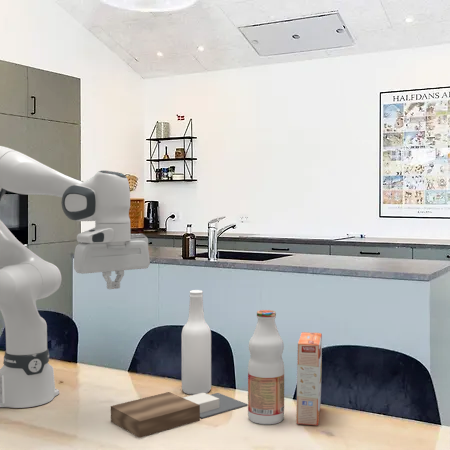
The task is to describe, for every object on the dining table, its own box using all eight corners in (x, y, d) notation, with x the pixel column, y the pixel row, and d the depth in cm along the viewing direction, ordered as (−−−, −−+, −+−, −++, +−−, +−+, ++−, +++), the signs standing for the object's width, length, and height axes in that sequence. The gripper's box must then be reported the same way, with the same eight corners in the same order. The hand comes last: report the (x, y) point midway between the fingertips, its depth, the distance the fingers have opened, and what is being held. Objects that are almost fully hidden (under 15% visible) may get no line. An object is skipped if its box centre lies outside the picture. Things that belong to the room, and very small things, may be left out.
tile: (177, 408, 161) (177, 399, 161) (203, 401, 167) (203, 392, 167) (192, 415, 156) (192, 405, 156) (219, 407, 161) (219, 398, 161)
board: (110, 421, 152) (110, 406, 152) (169, 406, 164) (168, 391, 164) (139, 437, 142) (139, 421, 142) (199, 420, 153) (199, 405, 153)
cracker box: (319, 426, 149) (320, 343, 148) (295, 425, 150) (296, 342, 149) (322, 408, 162) (322, 332, 162) (299, 406, 164) (300, 331, 163)
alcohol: (217, 391, 177) (217, 291, 176) (194, 397, 171) (193, 293, 170) (198, 384, 184) (198, 287, 183) (175, 390, 178) (175, 290, 177)
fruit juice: (259, 427, 148) (259, 316, 147) (241, 415, 157) (241, 310, 156) (291, 421, 152) (291, 313, 151) (272, 410, 161) (272, 307, 160)
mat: (172, 405, 164) (172, 404, 164) (217, 394, 174) (217, 392, 174) (201, 418, 154) (201, 417, 154) (247, 405, 164) (247, 404, 164)
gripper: (141, 232, 160) (141, 283, 161) (70, 235, 147) (71, 291, 148) (154, 233, 156) (154, 286, 156) (82, 236, 143) (82, 293, 143)
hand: (113, 288), depth 152 cm, fingers closed
